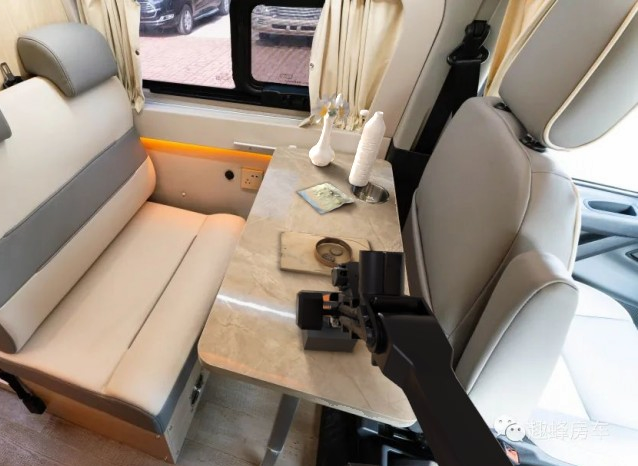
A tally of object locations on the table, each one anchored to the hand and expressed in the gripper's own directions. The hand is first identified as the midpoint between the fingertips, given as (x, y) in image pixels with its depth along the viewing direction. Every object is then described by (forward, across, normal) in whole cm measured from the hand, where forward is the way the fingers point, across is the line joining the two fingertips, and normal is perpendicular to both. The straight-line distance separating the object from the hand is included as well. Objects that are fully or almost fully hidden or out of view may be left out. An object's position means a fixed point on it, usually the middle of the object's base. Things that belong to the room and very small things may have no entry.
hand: (338, 304), depth 63 cm
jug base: (+11, 0, +6) cm, 13 cm away
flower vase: (+63, -10, -46) cm, 79 cm away
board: (+27, -4, -9) cm, 29 cm away
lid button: (+6, 0, +2) cm, 7 cm away
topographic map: (+46, -8, -29) cm, 55 cm away
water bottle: (+53, -20, -36) cm, 68 cm away
